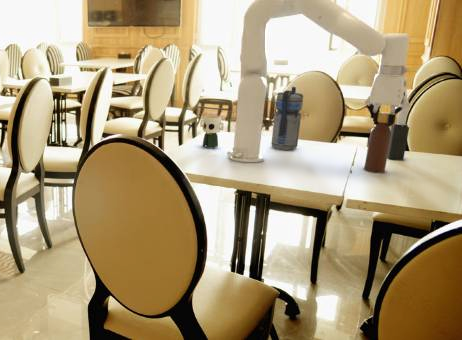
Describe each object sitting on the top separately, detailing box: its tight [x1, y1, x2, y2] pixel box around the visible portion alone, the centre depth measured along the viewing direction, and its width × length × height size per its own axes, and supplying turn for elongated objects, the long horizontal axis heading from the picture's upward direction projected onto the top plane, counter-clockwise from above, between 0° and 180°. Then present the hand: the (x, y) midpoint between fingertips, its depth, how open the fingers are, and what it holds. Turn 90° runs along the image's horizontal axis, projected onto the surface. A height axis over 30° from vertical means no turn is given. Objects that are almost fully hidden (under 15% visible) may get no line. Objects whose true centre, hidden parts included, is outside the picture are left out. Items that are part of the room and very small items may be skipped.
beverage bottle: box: [270, 86, 304, 151], centre depth 210 cm, size 10×13×25 cm
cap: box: [377, 111, 391, 123], centre depth 177 cm, size 4×4×3 cm
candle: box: [387, 93, 410, 161], centre depth 196 cm, size 5×5×25 cm
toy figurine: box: [199, 114, 225, 149], centre depth 212 cm, size 11×7×13 cm, turn 45°
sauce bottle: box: [363, 122, 392, 174], centre depth 179 cm, size 6×6×20 cm
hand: (383, 124), depth 178 cm, fingers closed on cap, 3 cm apart
